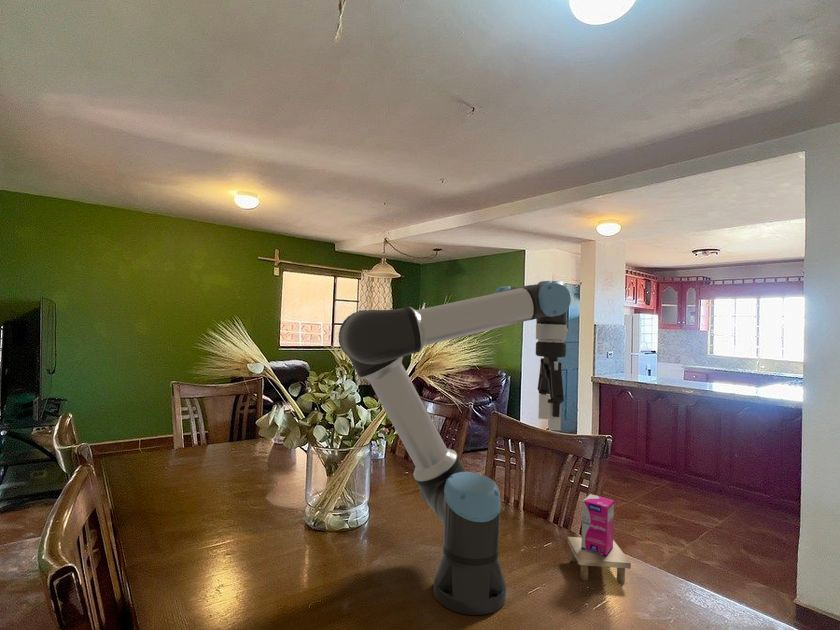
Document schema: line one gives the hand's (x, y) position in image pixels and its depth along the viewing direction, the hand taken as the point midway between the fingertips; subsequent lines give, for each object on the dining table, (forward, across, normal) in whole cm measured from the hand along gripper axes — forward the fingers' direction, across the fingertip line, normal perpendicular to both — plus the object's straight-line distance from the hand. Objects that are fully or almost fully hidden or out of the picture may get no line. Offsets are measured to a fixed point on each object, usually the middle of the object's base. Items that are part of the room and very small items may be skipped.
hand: (548, 424), depth 116 cm
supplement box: (+27, -9, -10) cm, 30 cm away
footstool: (+32, -9, -10) cm, 34 cm away
